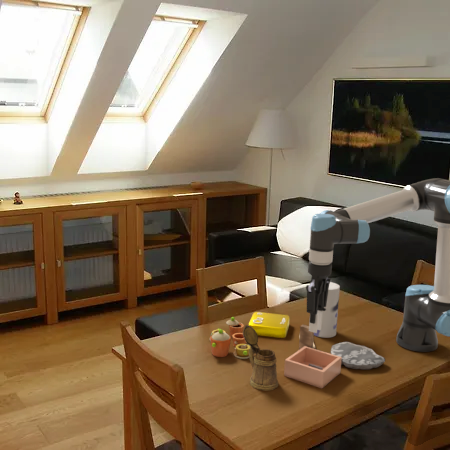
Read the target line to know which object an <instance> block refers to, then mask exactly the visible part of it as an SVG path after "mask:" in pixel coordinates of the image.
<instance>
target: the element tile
mask: <svg viewBox="0 0 450 450" xmlns="http://www.w3.org/2000/svg"><path fill="white" fill-rule="evenodd" d="M248 326H251V327H252V328H253V329H254V330H255V331H256V333H257V335H258V336H262V337H271V338H279V339H280V338H281V339H282V338H283V339H285V338H286V337H287V335H288V331H289V327H290V316H289V314H280V313H271V312H270V313H269V312H263V311H262V312H261V311H254V312H253V313H252V315H251V317H250V320H249V322H248Z"/></svg>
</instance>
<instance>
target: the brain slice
mask: <svg viewBox="0 0 450 450" xmlns="http://www.w3.org/2000/svg"><path fill="white" fill-rule="evenodd" d="M330 354H333V355H336V356H340V357H342V360H341V365H344V367H346V368H349V369H353V370H372V369H373V368H379V367H380V366H382V365H383V364H384V363H385V362H386V358H385V357H383V356H382V355H379V354H377V353H376V352H375V351H374V350H373V349H372V348H369V347H367V346H365V345H360V344H355V343H353V342H350V341H343V342H339V343H335V344H333V345H331V348H330Z"/></svg>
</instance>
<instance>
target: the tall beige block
mask: <svg viewBox="0 0 450 450" xmlns="http://www.w3.org/2000/svg"><path fill="white" fill-rule="evenodd" d="M299 334H300V338H299V337H298V339H299V340H298V350H300V349H301V348H303V347H304V346H306V347H310V348H313V342H314V336H315V335H314V332H311V331H309V325H307V324H301V325H300V326H299Z"/></svg>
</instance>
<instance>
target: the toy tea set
mask: <svg viewBox="0 0 450 450" xmlns="http://www.w3.org/2000/svg"><path fill="white" fill-rule="evenodd" d="M225 324H226V325H227V326H228V329H229V334H228V333H226V331H225V330H224V329H221V328H217V329H214V330H211V334H210V337H209V341H210V347H211V355H213V356H214V357H218V358H223V357H224V358H225V357H227V356H228V355H229V352H230V345H231V341H232V345H233V347H234V350H235V351H234V352H233V356H234V357H235V358H237V359H241V360H247V359H249V349H250V347H251V346H250V345H249V344H248V343H247V342H246V341H245V339H244V336H243V331H244V328H245V324H243V323H242V322H239V321H238V320H236V319H235V317H234V316H232V317H230V319H229V320H228V319H227V321H226V322H225Z"/></svg>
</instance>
